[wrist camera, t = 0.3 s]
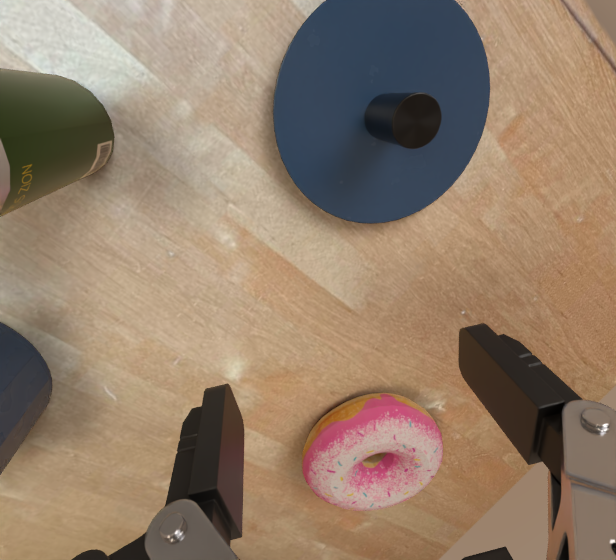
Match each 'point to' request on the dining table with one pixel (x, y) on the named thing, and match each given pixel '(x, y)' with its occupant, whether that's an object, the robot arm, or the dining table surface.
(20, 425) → the blue cooking pot
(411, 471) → the donut
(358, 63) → the lid
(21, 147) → the beer can
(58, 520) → the dining table surface
